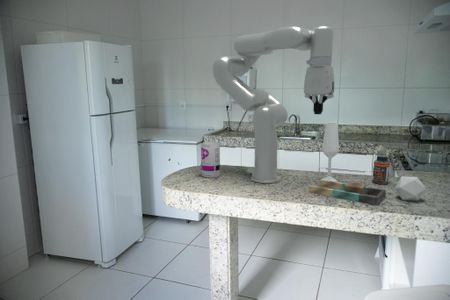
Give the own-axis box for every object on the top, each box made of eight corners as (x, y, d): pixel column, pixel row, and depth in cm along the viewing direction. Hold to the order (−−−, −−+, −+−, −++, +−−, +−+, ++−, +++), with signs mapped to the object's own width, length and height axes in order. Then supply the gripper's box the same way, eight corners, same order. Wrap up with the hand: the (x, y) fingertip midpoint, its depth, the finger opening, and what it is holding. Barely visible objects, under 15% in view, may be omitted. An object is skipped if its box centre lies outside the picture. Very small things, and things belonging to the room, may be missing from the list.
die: (419, 207, 108) (434, 182, 109) (395, 192, 110) (410, 168, 111) (409, 207, 116) (423, 184, 117) (387, 193, 118) (401, 171, 119)
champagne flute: (319, 181, 136) (322, 124, 132) (321, 177, 143) (323, 122, 138) (336, 183, 134) (340, 124, 130) (337, 179, 140) (340, 123, 136)
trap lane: (308, 192, 122) (308, 185, 122) (320, 185, 131) (320, 179, 131) (377, 205, 108) (377, 198, 107) (385, 196, 117) (386, 190, 116)
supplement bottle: (370, 183, 134) (372, 156, 132) (373, 180, 139) (375, 153, 137) (386, 185, 130) (388, 157, 128) (389, 182, 135) (391, 155, 133)
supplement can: (206, 179, 141) (206, 144, 139) (198, 175, 148) (198, 142, 146) (223, 176, 145) (222, 143, 143) (214, 172, 152) (214, 140, 150)
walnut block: (344, 196, 118) (344, 185, 117) (347, 192, 123) (348, 181, 122) (361, 199, 115) (362, 188, 114) (364, 194, 120) (365, 184, 119)
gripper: (296, 63, 120) (294, 113, 123) (337, 61, 111) (334, 115, 114) (305, 64, 126) (303, 112, 129) (344, 62, 117) (341, 114, 120)
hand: (317, 113), depth 122 cm, fingers closed
